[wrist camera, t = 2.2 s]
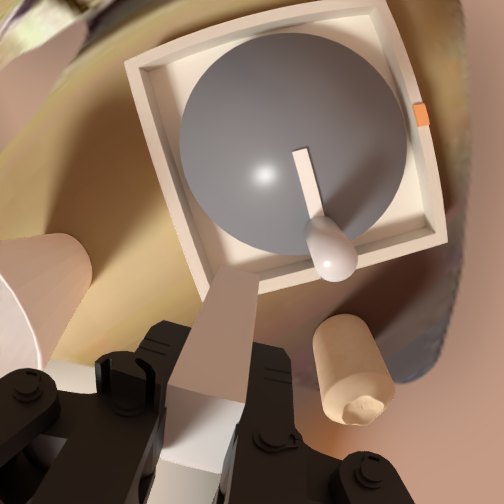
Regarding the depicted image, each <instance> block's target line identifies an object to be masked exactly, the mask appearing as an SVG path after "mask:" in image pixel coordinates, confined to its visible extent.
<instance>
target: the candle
mask: <svg viewBox="0 0 504 504" xmlns="http://www.w3.org/2000/svg"><path fill="white" fill-rule="evenodd" d="M313 350H314V356H315V362H316V368H317V374H318V380H319V386H320V393H321V399H322V405H323V410H324V412H325V414H326V415H327V416H328V417H329V418H330V419H331V420H333V421H335V422H339V423H342V424H347V425H361V426H367V425H369V424H370V423H371V422H372V421H373V420H374V419H375V418H376V417H378V416H379V415H380V414H381V413H382V412H383V411H384V410H385V409H386V408H387V407H388V406H389V404H390V403H391V401H392V399H393V397H394V393H395V387H394V383H393V381H392V379H391V376H390V374H389V372H388V370H387V367H386V365H385V363H384V361H383V358H382V356H381V354H380V352H379V349H378V347H377V345H376V343H375V341H374V339H373V336H372V334H371V332H370V330H369V328H368V326H367V325H366V323H365V322H364V321H363V320H362V319H361V318H359V317H357V316H355V315H351V314H339V315H335V316H332V317H330V318H328V319H326V320H325V321H324V322H322V323H321V324H320V325H319V327H318V328H317V329H316V331H315V334H314V337H313Z"/></svg>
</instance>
